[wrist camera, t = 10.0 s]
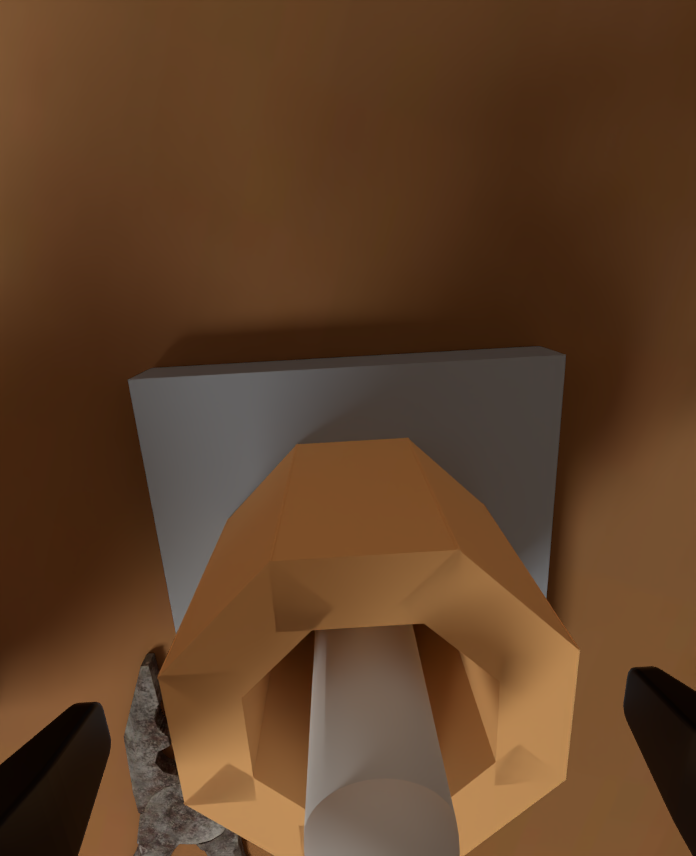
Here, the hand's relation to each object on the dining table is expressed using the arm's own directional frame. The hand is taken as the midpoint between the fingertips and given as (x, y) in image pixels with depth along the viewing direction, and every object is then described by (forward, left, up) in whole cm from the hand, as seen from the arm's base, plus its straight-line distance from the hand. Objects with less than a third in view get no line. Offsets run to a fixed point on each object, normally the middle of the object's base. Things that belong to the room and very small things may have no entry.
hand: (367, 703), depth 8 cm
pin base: (0, 0, -6) cm, 6 cm away
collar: (0, 0, -4) cm, 5 cm away
